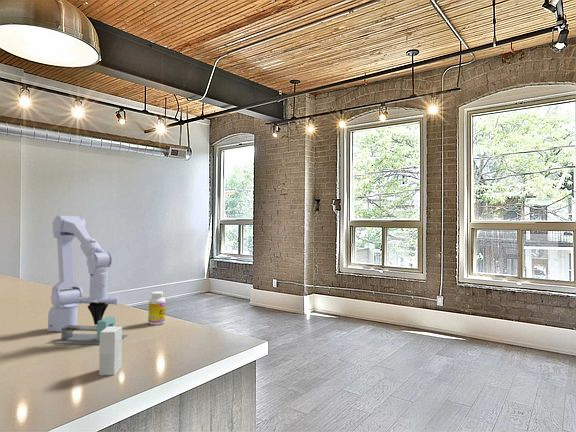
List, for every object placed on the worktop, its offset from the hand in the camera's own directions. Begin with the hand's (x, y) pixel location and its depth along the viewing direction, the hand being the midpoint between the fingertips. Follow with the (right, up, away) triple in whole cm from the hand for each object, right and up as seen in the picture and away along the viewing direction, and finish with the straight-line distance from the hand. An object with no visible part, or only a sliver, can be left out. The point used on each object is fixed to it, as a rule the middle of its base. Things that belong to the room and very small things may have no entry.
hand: (97, 324), depth 139 cm
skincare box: (+18, -6, -29) cm, 34 cm away
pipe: (-2, -6, 0) cm, 6 cm away
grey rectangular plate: (-2, -6, 0) cm, 6 cm away
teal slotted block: (+3, -6, 0) cm, 6 cm away
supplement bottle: (+13, -6, +24) cm, 28 cm away
